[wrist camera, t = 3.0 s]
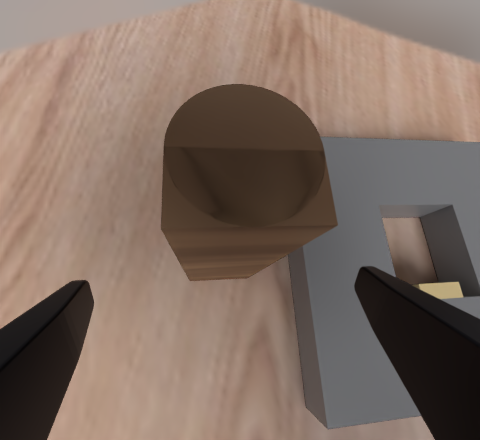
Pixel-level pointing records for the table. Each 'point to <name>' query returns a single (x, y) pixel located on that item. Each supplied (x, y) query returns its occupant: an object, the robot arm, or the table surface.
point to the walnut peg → (242, 182)
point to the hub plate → (380, 266)
